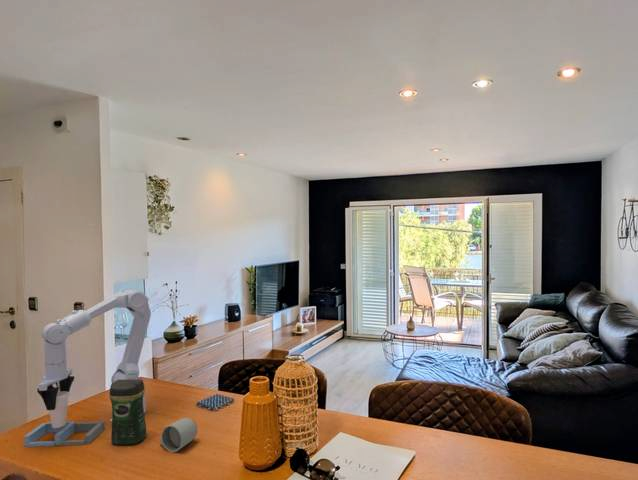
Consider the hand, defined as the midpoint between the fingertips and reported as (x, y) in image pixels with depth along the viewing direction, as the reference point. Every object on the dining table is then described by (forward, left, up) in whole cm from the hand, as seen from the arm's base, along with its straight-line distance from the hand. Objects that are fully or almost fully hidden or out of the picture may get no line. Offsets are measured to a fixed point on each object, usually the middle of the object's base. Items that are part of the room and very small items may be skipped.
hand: (57, 405), depth 133 cm
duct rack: (-2, 0, -10) cm, 11 cm away
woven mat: (-44, -22, -11) cm, 51 cm away
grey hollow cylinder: (-39, +7, -11) cm, 41 cm away
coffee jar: (-23, +3, -11) cm, 26 cm away
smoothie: (0, 0, -6) cm, 7 cm away
